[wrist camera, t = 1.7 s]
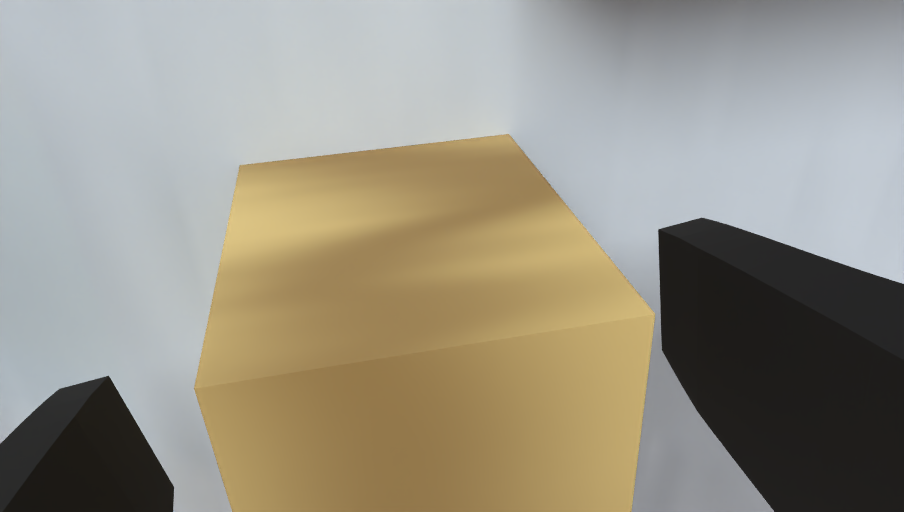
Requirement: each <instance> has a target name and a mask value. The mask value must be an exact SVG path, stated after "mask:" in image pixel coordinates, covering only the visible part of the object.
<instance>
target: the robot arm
mask: <svg viewBox="0 0 904 512" xmlns="http://www.w3.org/2000/svg"><path fill="white" fill-rule="evenodd" d="M658 234H659V268H660V302H661V336H662V351H663V353H664V355H665V356H666V358H667V360H668V362H669V363H670V365H671V367H672V369H673V371H674V372H675V374H676V376H677V378H678V380H679V381H680V383H681V385H682V386H683V388H684V390H685V391H686V393H687V395H688V396H689V398H690V400H691V401H692V403H693V405H694V406H695V408H696V410H697V411H698V413H699V414H700V415H701V417H702V418H703V419H704V421H705V422H706V423H707V425H708V426H709V427H710V429H711V430H712V431H713V433H714V434H715V435H716V437H717V438H718V439H719V441H720V442H721V443H722V444H723V446H724V447H725V448H726V450H727V451H728V452H729V454H730V455H731V456H732V458H733V459H734V460H735V461H736V463H737V464H738V465H739V467H740V468H741V469H742V470H743V472H744V473H745V474H746V476H747V477H748V478H749V479H750V481H751V482H752V483H753V485H754V486H755V487H756V488H757V490H758V491H759V492H760V494H761V495H762V496H763V497H764V499H765V500H766V501H767V503H768V504H769V505H770V506H771V508H772V509H773V510H774V512H904V284H902V283H899V282H895V281H892V280H889V279H886V278H883V277H880V276H876V275H873V274H870V273H867V272H864V271H861V270H858V269H855V268H852V267H849V266H846V265H843V264H841V263H838V262H835V261H832V260H829V259H826V258H823V257H820V256H817V255H814V254H811V253H809V252H806V251H803V250H800V249H797V248H794V247H791V246H789V245H786V244H783V243H780V242H777V241H774V240H771V239H769V238H766V237H763V236H760V235H757V234H754V233H751V232H748V231H745V230H742V229H739V228H736V227H733V226H730V225H727V224H723V223H720V222H717V221H713V220H709V219H705V218H699V219H696V220H692V221H688V222H684V223H681V224H677V225H673V226H669V227H665V228H662V229H658ZM173 499H174V486H173V485H172V483H171V481H170V479H169V478H168V476H167V474H166V473H165V471H164V469H163V468H162V466H161V464H160V462H159V461H158V459H157V457H156V456H155V454H154V452H153V450H152V449H151V447H150V445H149V444H148V442H147V440H146V438H145V437H144V435H143V433H142V432H141V430H140V428H139V427H138V425H137V423H136V421H135V420H134V418H133V416H132V415H131V413H130V411H129V409H128V408H127V406H126V404H125V403H124V401H123V399H122V398H121V396H120V394H119V392H118V391H117V389H116V387H115V386H114V384H113V382H112V380H111V379H110V377H109V376H106V377H103V378H99V379H95V380H91V381H88V382H84V383H80V384H76V385H73V386H69V387H65V388H61V389H59V390H58V391H56V392H55V393H54V394H53V395H52V396H50V397H49V398H48V399H47V400H46V401H45V402H43V403H42V404H41V405H40V406H39V407H38V408H37V409H36V410H35V411H34V412H33V413H32V414H30V415H29V416H28V417H27V418H26V419H25V420H24V421H23V422H22V423H21V424H20V425H19V426H18V427H17V428H16V429H15V430H14V431H13V432H12V433H11V434H10V435H9V436H8V437H7V438H6V439H5V440H4V441H3V442H2V443H1V444H0V512H173Z"/></svg>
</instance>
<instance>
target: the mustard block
mask: <svg viewBox="0 0 904 512" xmlns="http://www.w3.org/2000/svg"><path fill="white" fill-rule="evenodd" d="M654 321H655V313H654V312H653V311H652V310H651V308H650V307H649V306H648V305H647V303H646V302H645V301H644V300H643V299H642V297H641V296H640V295H639V294H638V292H637V291H636V290H635V289H634V287H633V286H632V285H631V284H630V283H629V281H628V280H627V279H626V278H625V276H624V275H623V274H622V273H621V271H620V270H619V269H618V268H617V267H616V265H615V264H614V263H613V262H612V260H611V259H610V258H609V257H608V255H607V254H606V253H605V252H604V251H603V249H602V248H601V247H600V246H599V244H598V243H597V242H596V241H595V240H594V238H593V237H592V236H591V235H590V233H589V232H588V231H587V230H586V228H585V227H584V226H583V225H582V224H581V222H580V221H579V220H578V219H577V217H576V216H575V215H574V214H573V212H572V211H571V210H570V209H569V208H568V206H567V205H566V204H565V203H564V201H563V200H562V199H561V198H560V196H559V195H558V194H557V193H556V192H555V190H554V189H553V188H552V187H551V185H550V184H549V183H548V182H547V180H546V179H545V178H544V177H543V176H542V174H541V173H540V172H539V171H538V169H537V168H536V167H535V166H534V165H533V163H532V162H531V161H530V160H529V158H528V157H527V156H526V155H525V153H524V152H523V151H522V150H521V149H520V147H519V146H518V145H517V144H516V142H515V141H514V140H513V139H512V137H511V136H510V135H509V134H506V135H497V136H489V137H480V138H471V139H463V140H454V141H446V142H437V143H428V144H420V145H411V146H402V147H394V148H385V149H376V150H368V151H359V152H350V153H342V154H333V155H325V156H316V157H307V158H299V159H290V160H281V161H273V162H264V163H255V164H247V165H240V167H239V172H238V177H237V182H236V187H235V191H234V196H233V201H232V206H231V211H230V216H229V221H228V226H227V231H226V235H225V240H224V245H223V250H222V255H221V260H220V265H219V270H218V274H217V279H216V284H215V289H214V294H213V299H212V304H211V309H210V314H209V318H208V323H207V328H206V333H205V338H204V343H203V348H202V353H201V357H200V362H199V367H198V372H197V377H196V382H195V387H194V390H195V393H196V396H197V399H198V403H199V406H200V409H201V412H202V415H203V419H204V422H205V425H206V428H207V432H208V435H209V438H210V441H211V444H212V448H213V451H214V454H215V457H216V460H217V464H218V467H219V470H220V473H221V477H222V480H223V483H224V486H225V489H226V493H227V496H228V499H229V502H230V505H231V509H232V512H631V510H632V502H633V494H634V486H635V477H636V469H637V461H638V453H639V444H640V436H641V428H642V420H643V411H644V403H645V395H646V387H647V378H648V370H649V362H650V354H651V345H652V337H653V329H654Z"/></svg>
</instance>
